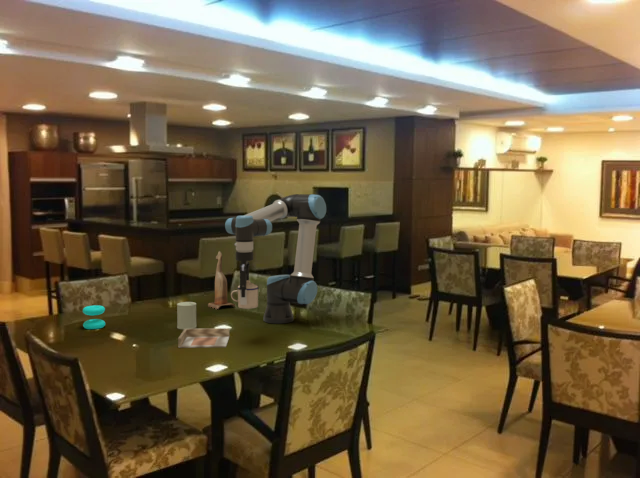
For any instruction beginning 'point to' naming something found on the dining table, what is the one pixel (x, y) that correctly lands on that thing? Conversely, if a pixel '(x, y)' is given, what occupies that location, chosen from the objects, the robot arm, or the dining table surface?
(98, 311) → the donuts
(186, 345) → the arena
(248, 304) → the teacup with lid
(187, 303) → the can
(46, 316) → the dining table surface
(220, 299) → the bird sculpture
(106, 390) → the dining table surface
